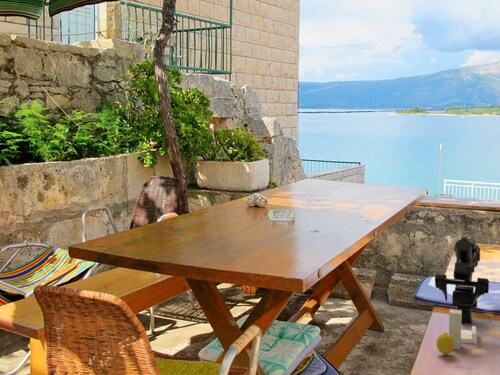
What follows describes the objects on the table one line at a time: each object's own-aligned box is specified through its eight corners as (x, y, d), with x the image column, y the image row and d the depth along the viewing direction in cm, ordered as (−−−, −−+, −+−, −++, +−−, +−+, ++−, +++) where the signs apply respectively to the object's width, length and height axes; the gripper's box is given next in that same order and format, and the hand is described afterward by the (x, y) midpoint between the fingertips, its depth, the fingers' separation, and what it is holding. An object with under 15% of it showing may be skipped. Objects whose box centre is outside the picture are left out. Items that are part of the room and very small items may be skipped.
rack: (450, 332, 225) (451, 323, 225) (476, 335, 222) (476, 326, 222) (450, 341, 217) (450, 331, 216) (476, 344, 214) (477, 334, 213)
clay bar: (448, 344, 214) (449, 309, 213) (460, 345, 213) (461, 310, 211) (448, 348, 210) (449, 312, 209) (460, 349, 209) (461, 313, 207)
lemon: (433, 353, 206) (433, 331, 205) (446, 350, 208) (446, 328, 207) (443, 359, 201) (444, 336, 200) (456, 356, 203) (457, 334, 202)
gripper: (436, 252, 225) (431, 285, 214) (489, 256, 217) (487, 291, 207) (438, 271, 232) (433, 303, 221) (489, 275, 224) (487, 310, 214)
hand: (459, 301), depth 216 cm, fingers open, 9 cm apart
